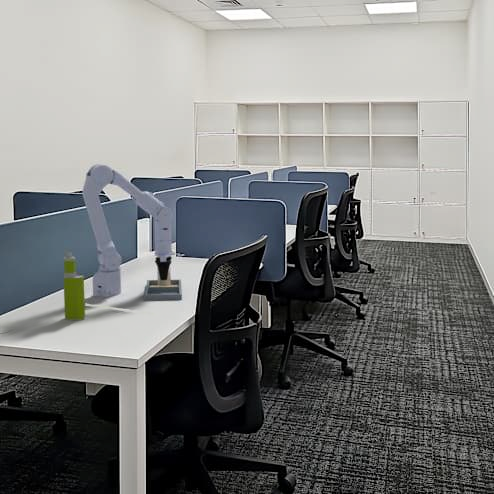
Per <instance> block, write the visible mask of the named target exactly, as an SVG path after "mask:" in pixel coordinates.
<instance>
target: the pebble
mask: <svg viewBox="0 0 494 494" xmlns="http://www.w3.org/2000/svg"><path fill="white" fill-rule="evenodd" d="M156 269H157V274H156V275H157V280H158V285H159V286H169V285H171V280H172V275H171V274H172V273H171V271H172V268H171V266H169V270H168V277H167V280H161V279H160V275H159V270H158V267H157V268H156Z"/></svg>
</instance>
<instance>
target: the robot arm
mask: <svg viewBox="0 0 494 494" xmlns="http://www.w3.org/2000/svg"><path fill="white" fill-rule="evenodd" d="M109 184H110V185H113V186H118V187H119V188H120V189H122V190H123V191H124V192H126V193H127V194H128V195H130V196H132V198H134V199H135V204H136V205H137V206H138V207H139V208H140V209H142V210H144V211H145V212H146V213H147V214H148V215H150V216H152V218H153V220H154V256H156V257H155V259H154V260H155V261H154V262H155V263H154V264H156V267H157V268H158V270H159V275H160V279H161V280H167V277H168V270H169V267H171V264H172V261H173V260H172V256H175V255H176V252H175V251H173V250H172V249H173V248H172V246H173V245H172V241H173V240H172V221H173V219H174V216H175V214H174V213H173V211H172V208H170V207H168V206H165V203H164V202H163V201H162V200H161V201H160V200H159V199H158V198H157V197H155V196H154V195H155V194H154V193H153V192H151V191H142V190H140V189H139V188H138V187H136V186H135V185H134V184H133V183H132V182H130V181H129V180H128V179H127V178H126V177H125V176H124V175H122V174H121V173H119V172H118V171H116V170H115V169H113V168H111V167H110V166H109V165H105V164H99V163H98V164H94V165H92V166H91V167H90V168H89V170H88V171H87V172H86V175H85V181H84V183H83V188H82V197H83V202H84V204H85V208H86V211H87V214H88V217H89V220H90V224H91V227H92V231H93V233H94V237H95V241H96V248H97V261H98V263H99V264H100V265H99V267H98V271H97V272H96V273H94V275H93V276H92V294H91V295H90V296H91V297H95V296H96V297H102V298H103V297H104V298H109V297H111V296H117V295H121V293H122V277H121V276H122V274H121V273H122V271H121V267H120V266H121V265H122V260H123V259H122V256H121V255H120V254H119V253H118V251H117V249H116V246H115V245H114V242H113V240H112V237H111V232H110V231H109V227H108V224H107V220H106V217H105V213H104V210H103V207H102V204H101V200H100V197H99V196H100V194H101V192H102V191H103V190H104V188H105V187H107V186H108V185H109Z"/></svg>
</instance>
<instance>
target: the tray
mask: <svg viewBox="0 0 494 494" xmlns="http://www.w3.org/2000/svg"><path fill="white" fill-rule="evenodd" d="M173 300H176V301H178V300H179V301H181V300H183V291H182V279H171V285H169V286H159V285H158V279H147V281H146V286H145V292H144V301H173Z"/></svg>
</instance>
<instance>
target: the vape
mask: <svg viewBox="0 0 494 494" xmlns="http://www.w3.org/2000/svg"><path fill="white" fill-rule="evenodd" d="M65 253H66V256H64V257H63V269H64V270H63V274H64V275H63V280H62V281H63V299H64V302H63V303H64V319H65V320H71V321H72V320H73V321H80V320H85V319H86V305H85V280H84V279H85V277H84V275H83V274H82V275H81V274H80V275H79V274H77V272H76V257H75V256H73V252H72V250H67V251H66V252H65Z"/></svg>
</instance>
